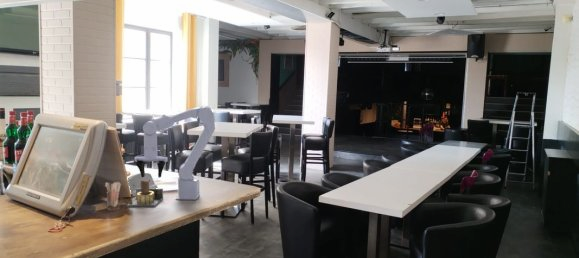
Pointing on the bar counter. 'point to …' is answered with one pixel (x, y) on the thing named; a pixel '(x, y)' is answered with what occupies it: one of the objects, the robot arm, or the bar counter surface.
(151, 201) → the cup bracket
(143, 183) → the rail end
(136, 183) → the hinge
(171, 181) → the bar counter surface
